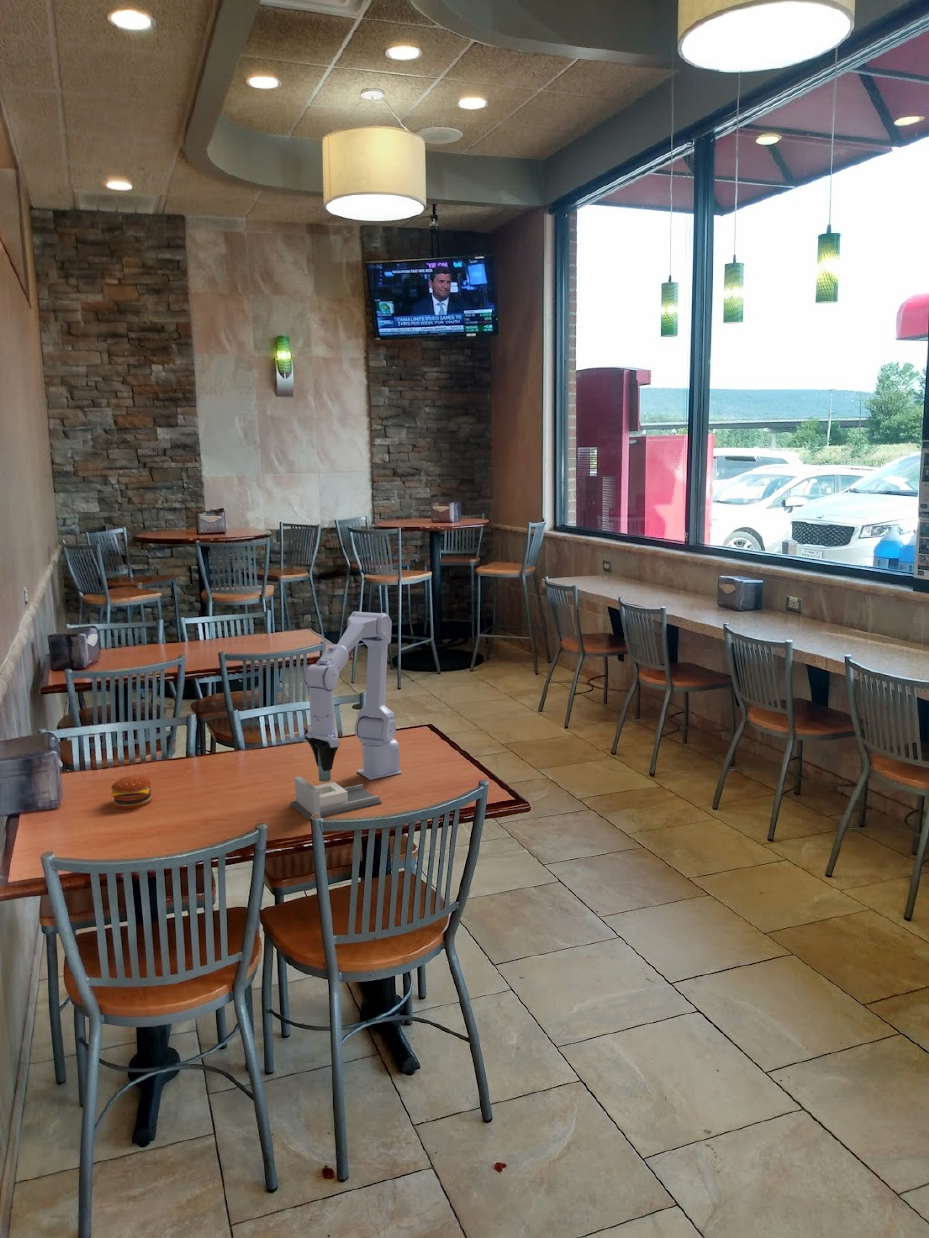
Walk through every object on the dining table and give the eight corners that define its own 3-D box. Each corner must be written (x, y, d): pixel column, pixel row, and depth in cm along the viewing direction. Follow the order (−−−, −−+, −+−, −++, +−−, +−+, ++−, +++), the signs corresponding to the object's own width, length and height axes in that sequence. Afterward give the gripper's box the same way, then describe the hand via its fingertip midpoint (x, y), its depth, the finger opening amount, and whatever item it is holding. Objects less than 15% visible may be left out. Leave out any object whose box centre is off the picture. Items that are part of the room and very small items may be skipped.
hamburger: (152, 807, 225) (149, 781, 224) (110, 812, 223) (108, 786, 222) (154, 793, 234) (152, 769, 233) (115, 798, 232) (112, 773, 231)
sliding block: (334, 795, 229) (334, 781, 229) (348, 805, 223) (347, 791, 222) (304, 801, 225) (303, 788, 225) (317, 812, 219) (316, 798, 218)
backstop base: (360, 788, 235) (359, 764, 234) (381, 803, 225) (380, 777, 224) (290, 804, 226) (288, 778, 224) (308, 820, 215) (307, 793, 214)
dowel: (327, 776, 225) (326, 745, 223) (332, 780, 222) (331, 748, 221) (317, 779, 223) (315, 747, 222) (321, 782, 221) (320, 750, 219)
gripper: (295, 709, 224) (297, 762, 226) (318, 724, 212) (320, 780, 214) (322, 705, 228) (324, 757, 230) (346, 719, 215) (348, 774, 218)
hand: (324, 768), depth 222 cm, fingers closed on dowel, 3 cm apart
